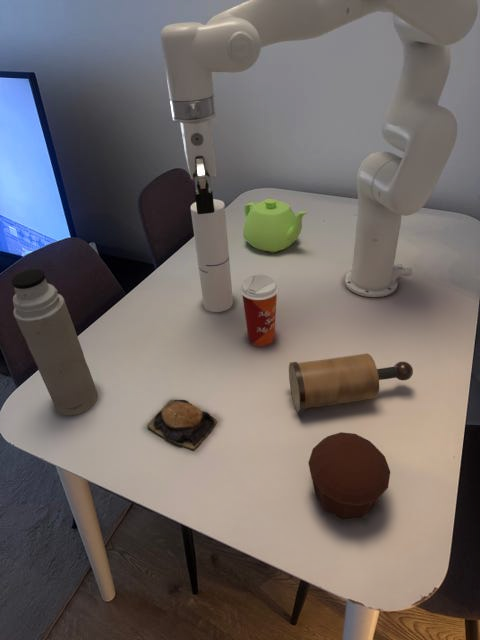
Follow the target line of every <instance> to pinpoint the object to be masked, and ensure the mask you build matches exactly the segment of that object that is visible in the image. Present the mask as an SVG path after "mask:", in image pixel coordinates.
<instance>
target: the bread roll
mask: <svg viewBox="0 0 480 640" xmlns="http://www.w3.org/2000/svg"><path fill="white" fill-rule="evenodd" d="M217 423H218V420H217V418H216V417H213V416H212V415H211V414H210V413H209V412H207V411H203V410H201V409H200V408H198V407H197V406H196V405H194V404H192V403H190V402H189V401H188V400H186V399H170V400H169V401H168V402H167V403H166V404H165V405H164V406H163V407H162V408H161V409H160V410H159V411H158V412H157V413H156V414H155V415H154V417H153V418H152V419H150V421H149V422H148V423H147V424H146V427H147V428H148V429H149V430H150V431H152V432H153V433H154V434H156V435H158V436H160V437H161V438H163V439H165V440H166V441H169V442H171V443H174V444H176V445H177V446H181V447H183V448H186V449H188V450H191V451H196V450H197V449H198V448H199V446H200V445H201V444H202V442H204V441H205V440H206V438H207V436H208V435H209V434H210V433H211V432H212V430H213V428H214V427H215V425H216V424H217Z"/></svg>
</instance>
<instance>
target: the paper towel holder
mask: <svg viewBox="0 0 480 640" xmlns="http://www.w3.org/2000/svg"><path fill="white" fill-rule="evenodd" d="M413 373H414V370H413V366H412V365H411V364H410V363H409V362H407V361H398V362H397V363H395V364H394V366H388V367H381V368H377V365H376V363H375V360H374V358H373V356H372V355H371V354H370V353H360V354H353V355H346V356H339V357H332V358H324V359H318V360H317V359H316V360H311V361H302V362H297V361H292V362H289V365H288V380H289V388H290V393H291V397H292V402H293V404H294V407H295V409H296V412H300V411H301V412H302V411H305V409H308V408H309V409H310V408H315V407H316V408H317V407H323V406H330V405H331V406H332V405H337V404H344V403H350V402H358V401H364V400H370V399H371V400H372V399H377V397H379V392H380V381H383V380H389V379H396V380H399V381H408V380H410V379H411V377H413Z"/></svg>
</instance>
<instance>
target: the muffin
mask: <svg viewBox="0 0 480 640" xmlns="http://www.w3.org/2000/svg"><path fill="white" fill-rule="evenodd" d="M308 468H309V472H310V473H309V474H310V477H311V480H312V485H313V489H314V494H315V497H316V498H317V499H318V501H319V502H320V504H321V506H322V508H323V510H324V512H325V513H327V514H330V515H332V516H334V517H337V518H338V519H339V520H341V521H347V520H362V519H363V518H364V517H365V516H366V515H367V513H368V512H370V511H371V510H372V509H373V508H375V506H376V505H377V503H378V501H379V499H380V497H381V496H382V495H383V494H384V493H385V492H386V491H387V489H388V488H389V484H390V477H391V470H390V467H389V464H388V461H387V459H386V456H385V455H384V454H383V452H382V451H380V450H379V448H378V447H376V446H375V444H374V443H372V442H371V441H370V439H367V438H365V437H363V436H360V435H358V434H356V433H351V432H337V433H334V434H330V435H327V436H326V437H325V438H323V439H322V440H321V441H319V442H318V443H317V444H316V445H315V446H314V447H313V448H312V450H311V453H310V456H309V460H308Z"/></svg>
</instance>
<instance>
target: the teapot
mask: <svg viewBox="0 0 480 640" xmlns="http://www.w3.org/2000/svg"><path fill="white" fill-rule="evenodd" d="M307 213H309V211H308V210H303V211H299V212H297V214H295V213H294V211H293V209H292V208H291V206H290V205H289V204H288V203H286V202H284V201H280V200H277V199H275V198H267V199H265V200H262V201H259V202H257V203H256V202H253V201H251V202H250V201H249V202H248V203H246V204H245V205H244V215H245V220H244V224H243V232H242V233H243V237H244V239H245V241H246V242H247V243H248V244H249V245H250V246H252V247H253V248H255V249H257V250H262V251H265V252H266V251H267V252H269V253H278V251H283V250H285V249H287V248H289V247H290V246H291V245H292V244H294V243H295V241H296V240H298V237H299V235H300V234H301V232H302V227H303V218H304V216H305V215H306V214H307Z"/></svg>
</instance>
